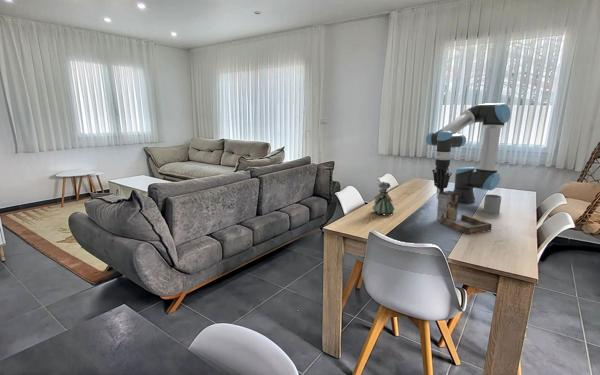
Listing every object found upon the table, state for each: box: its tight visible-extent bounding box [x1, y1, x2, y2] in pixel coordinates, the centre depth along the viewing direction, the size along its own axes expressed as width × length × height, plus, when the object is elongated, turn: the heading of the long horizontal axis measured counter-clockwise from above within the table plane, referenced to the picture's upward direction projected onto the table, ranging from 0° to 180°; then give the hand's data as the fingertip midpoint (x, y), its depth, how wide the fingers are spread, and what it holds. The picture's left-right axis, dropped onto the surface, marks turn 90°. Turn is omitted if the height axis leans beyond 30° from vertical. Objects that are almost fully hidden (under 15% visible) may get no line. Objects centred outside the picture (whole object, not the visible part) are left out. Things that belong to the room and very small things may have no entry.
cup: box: [483, 194, 502, 215], centre depth 192 cm, size 8×8×10 cm
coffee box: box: [436, 190, 459, 221], centre depth 179 cm, size 9×6×16 cm
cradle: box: [439, 213, 492, 235], centre depth 169 cm, size 18×16×4 cm
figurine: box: [372, 181, 395, 215], centre depth 193 cm, size 14×14×20 cm
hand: (439, 199), depth 185 cm, fingers closed
